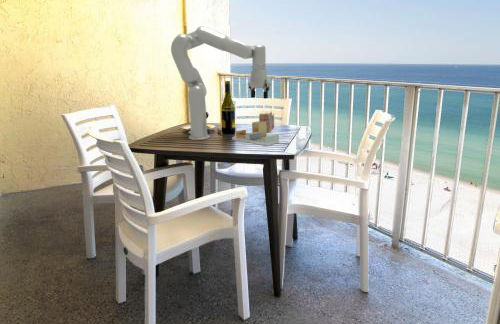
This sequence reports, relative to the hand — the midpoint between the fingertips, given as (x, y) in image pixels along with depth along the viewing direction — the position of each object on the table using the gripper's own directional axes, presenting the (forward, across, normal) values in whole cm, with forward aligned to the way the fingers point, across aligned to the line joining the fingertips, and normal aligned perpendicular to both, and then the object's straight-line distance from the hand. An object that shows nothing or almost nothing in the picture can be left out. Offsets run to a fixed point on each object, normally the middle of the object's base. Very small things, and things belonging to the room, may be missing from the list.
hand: (259, 97), depth 219 cm
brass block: (+23, 0, 0) cm, 23 cm away
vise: (+23, +6, -11) cm, 26 cm away
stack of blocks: (+24, -12, +21) cm, 34 cm away
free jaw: (+21, +1, -11) cm, 24 cm away
